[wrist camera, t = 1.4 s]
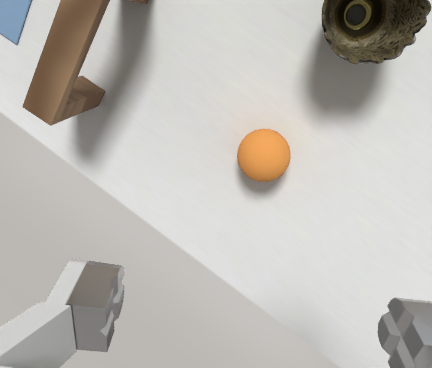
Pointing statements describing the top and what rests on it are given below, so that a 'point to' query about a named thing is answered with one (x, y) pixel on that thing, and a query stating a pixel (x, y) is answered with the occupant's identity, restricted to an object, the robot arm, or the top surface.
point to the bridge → (67, 63)
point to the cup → (373, 28)
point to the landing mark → (13, 18)
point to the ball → (263, 155)
